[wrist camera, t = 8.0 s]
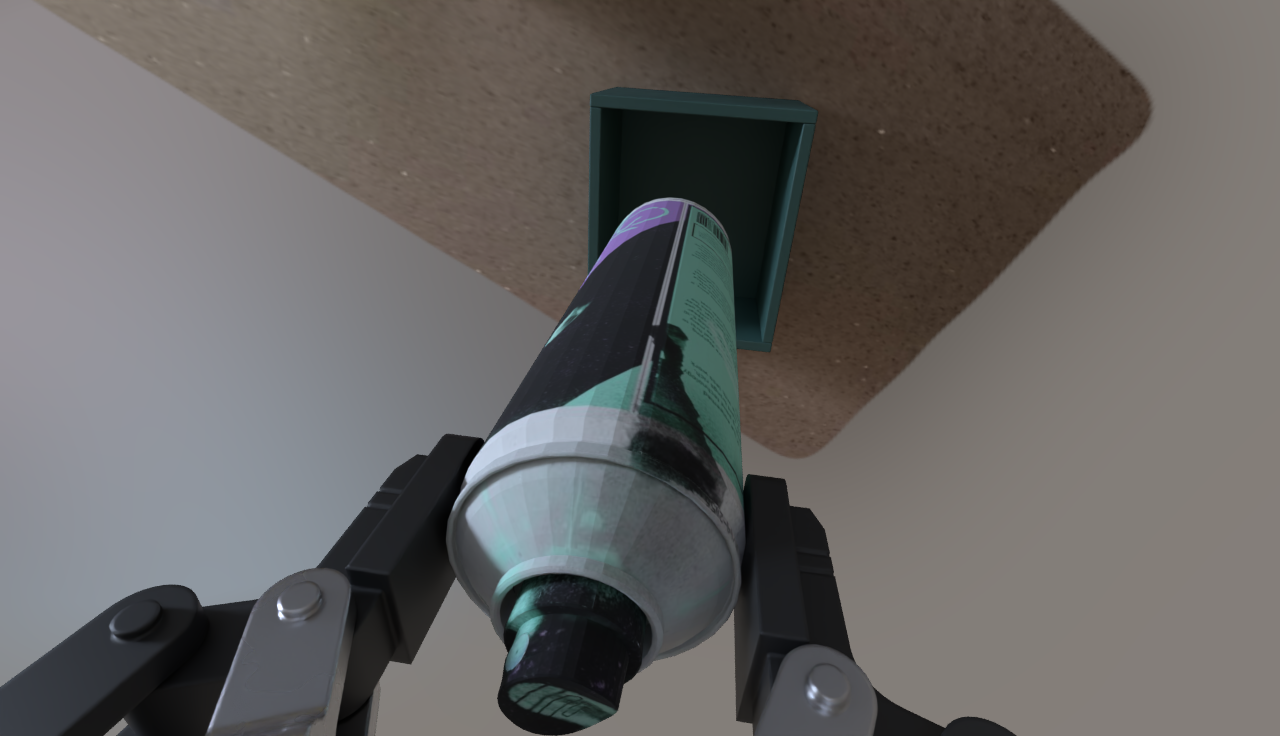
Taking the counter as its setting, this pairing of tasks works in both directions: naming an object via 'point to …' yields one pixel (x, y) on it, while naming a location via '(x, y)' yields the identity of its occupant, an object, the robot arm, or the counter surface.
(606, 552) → the spray can
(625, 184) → the bin
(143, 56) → the counter surface
